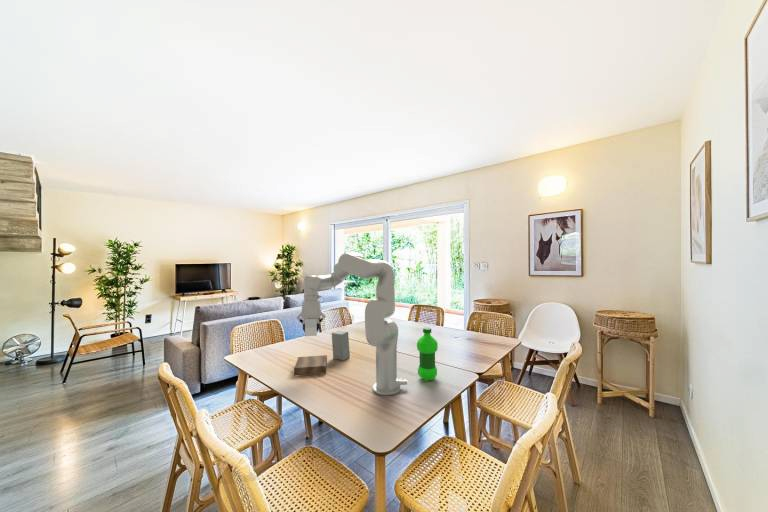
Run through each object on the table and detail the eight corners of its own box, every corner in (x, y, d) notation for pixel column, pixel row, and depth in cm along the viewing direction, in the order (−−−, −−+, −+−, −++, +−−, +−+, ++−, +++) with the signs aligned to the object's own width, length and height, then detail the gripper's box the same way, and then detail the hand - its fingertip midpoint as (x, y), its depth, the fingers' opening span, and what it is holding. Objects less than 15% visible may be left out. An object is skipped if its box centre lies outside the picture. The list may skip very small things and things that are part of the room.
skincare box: (350, 357, 170) (349, 331, 170) (342, 361, 164) (342, 334, 164) (339, 355, 174) (339, 329, 174) (331, 358, 168) (331, 332, 168)
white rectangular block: (317, 332, 157) (317, 316, 157) (316, 335, 151) (316, 319, 151) (306, 333, 156) (306, 317, 156) (305, 336, 150) (305, 319, 150)
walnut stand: (327, 362, 163) (326, 355, 163) (326, 373, 147) (326, 365, 147) (298, 364, 160) (298, 357, 160) (294, 375, 144) (294, 368, 144)
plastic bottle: (424, 385, 133) (424, 332, 133) (413, 376, 142) (412, 327, 142) (442, 381, 137) (441, 329, 137) (429, 372, 146) (429, 325, 147)
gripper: (327, 296, 159) (327, 328, 159) (295, 297, 156) (295, 329, 156) (327, 298, 151) (327, 332, 151) (293, 299, 148) (293, 333, 148)
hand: (311, 330), depth 153 cm, fingers closed on white rectangular block, 6 cm apart
